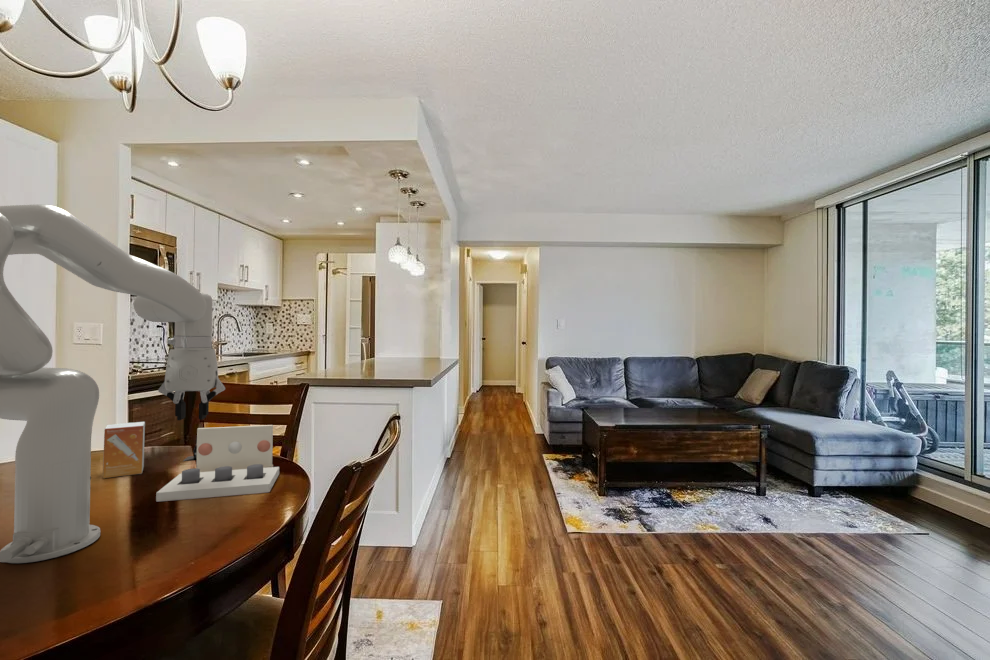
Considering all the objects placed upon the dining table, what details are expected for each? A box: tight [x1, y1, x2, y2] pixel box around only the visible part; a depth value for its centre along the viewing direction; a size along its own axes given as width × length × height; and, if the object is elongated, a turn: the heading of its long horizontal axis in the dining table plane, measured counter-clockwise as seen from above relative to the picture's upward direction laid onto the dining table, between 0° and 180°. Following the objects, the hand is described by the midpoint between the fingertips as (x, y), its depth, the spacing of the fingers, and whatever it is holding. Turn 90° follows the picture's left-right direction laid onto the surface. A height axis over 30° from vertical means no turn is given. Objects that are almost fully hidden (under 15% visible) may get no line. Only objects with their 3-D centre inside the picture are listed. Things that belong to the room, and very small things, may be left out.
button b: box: [215, 466, 232, 482], centre depth 109 cm, size 4×4×3 cm
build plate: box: [182, 444, 197, 462], centre depth 133 cm, size 12×7×5 cm, turn 110°
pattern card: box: [195, 424, 274, 472], centre depth 120 cm, size 4×18×12 cm, turn 107°
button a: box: [181, 467, 200, 484], centre depth 107 cm, size 4×4×3 cm
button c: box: [247, 464, 263, 479], centre depth 111 cm, size 4×4×3 cm
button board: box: [155, 466, 280, 502], centre depth 109 cm, size 14×23×2 cm, turn 107°
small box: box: [102, 421, 146, 479], centre depth 118 cm, size 8×6×13 cm
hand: (192, 418), depth 107 cm, fingers open, 3 cm apart
